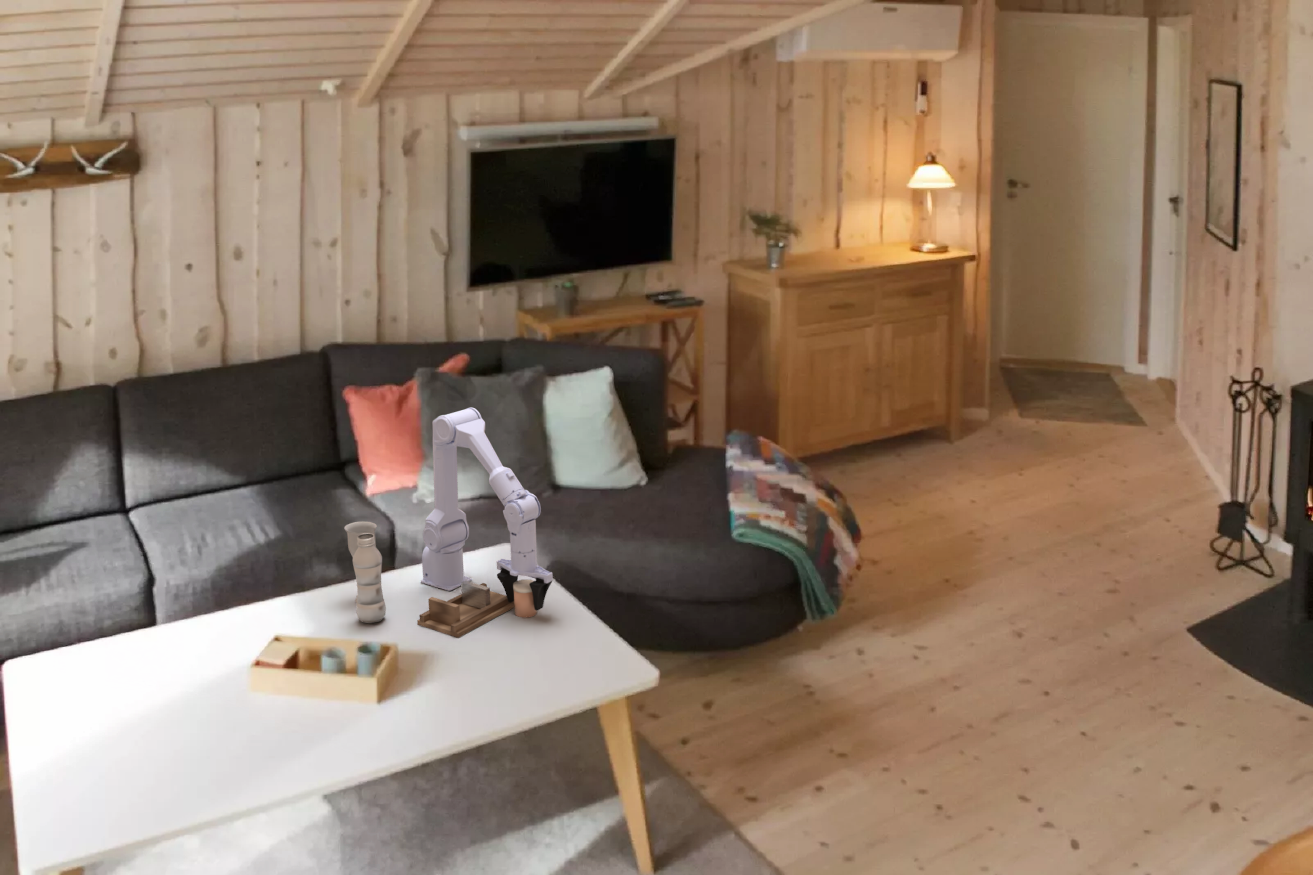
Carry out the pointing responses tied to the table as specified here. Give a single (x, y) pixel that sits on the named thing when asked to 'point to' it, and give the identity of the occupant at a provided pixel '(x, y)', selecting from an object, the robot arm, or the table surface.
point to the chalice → (355, 531)
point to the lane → (462, 614)
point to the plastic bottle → (368, 580)
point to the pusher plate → (475, 594)
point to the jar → (523, 599)
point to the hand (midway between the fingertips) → (525, 604)
